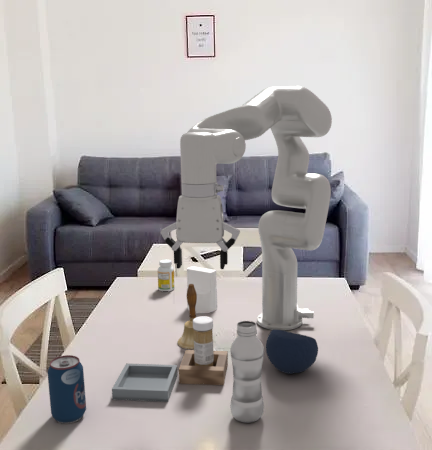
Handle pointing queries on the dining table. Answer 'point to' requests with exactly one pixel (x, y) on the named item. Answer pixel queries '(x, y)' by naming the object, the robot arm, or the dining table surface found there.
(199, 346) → the sprinkles bottle
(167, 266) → the supplement bottle
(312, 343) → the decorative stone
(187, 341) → the hand bell
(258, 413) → the plastic bottle
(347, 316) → the dining table surface
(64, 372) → the soda can
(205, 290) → the white upright carton
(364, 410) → the dining table surface
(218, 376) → the holder block
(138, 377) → the tray
